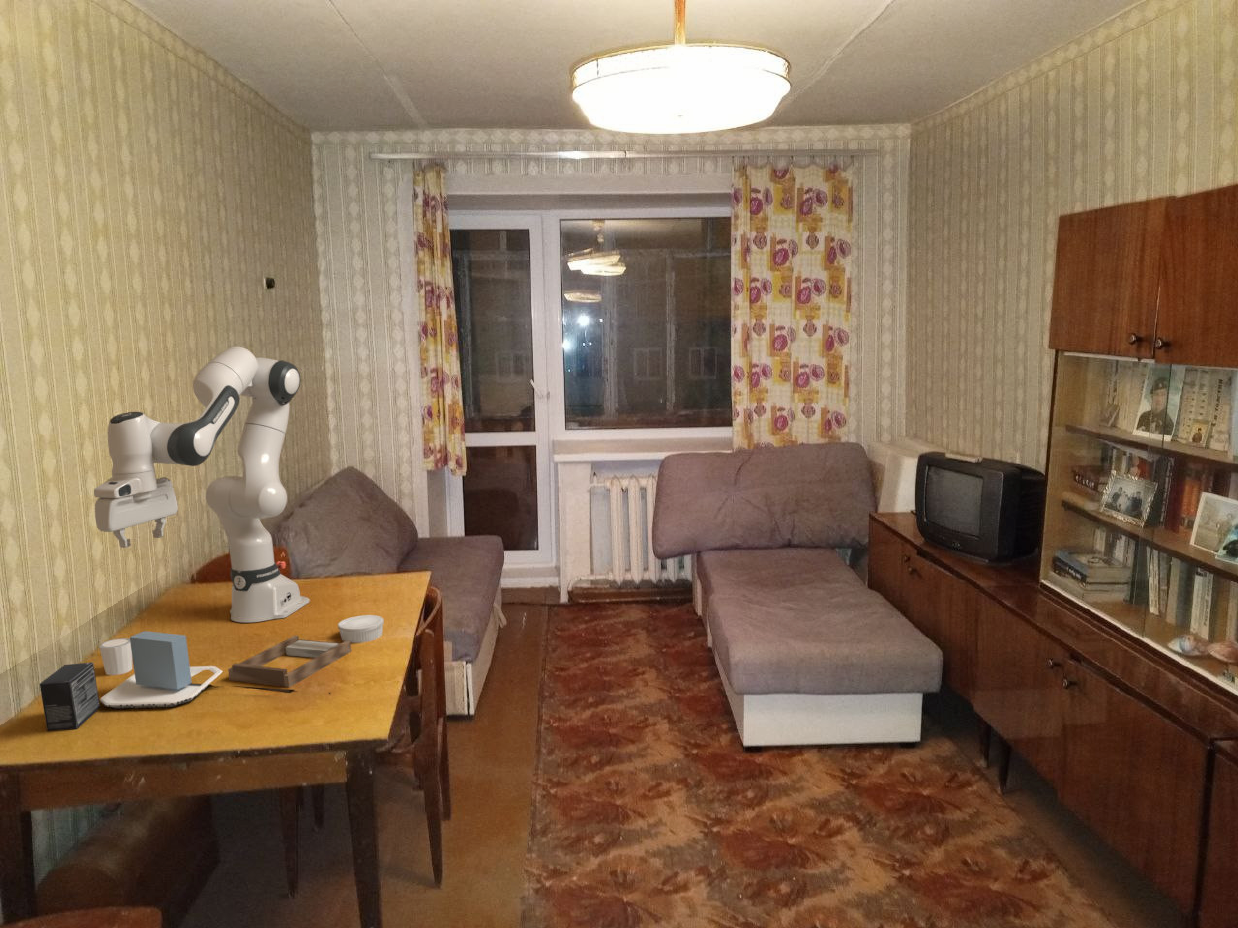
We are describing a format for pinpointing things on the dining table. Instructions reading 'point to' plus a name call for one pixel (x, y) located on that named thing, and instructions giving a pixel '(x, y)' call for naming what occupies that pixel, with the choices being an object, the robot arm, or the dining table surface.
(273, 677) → the frame
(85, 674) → the small box
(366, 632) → the ramekin
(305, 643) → the offcut upper
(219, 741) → the dining table surface
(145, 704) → the plate
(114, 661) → the white cup
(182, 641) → the slate blue block
